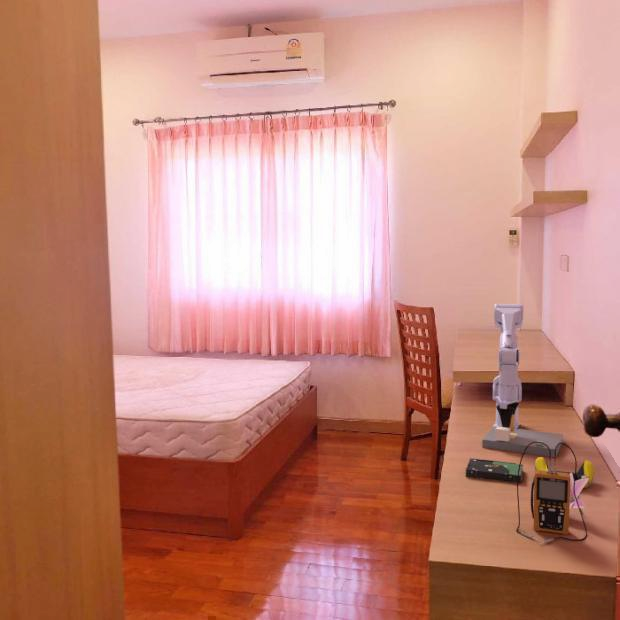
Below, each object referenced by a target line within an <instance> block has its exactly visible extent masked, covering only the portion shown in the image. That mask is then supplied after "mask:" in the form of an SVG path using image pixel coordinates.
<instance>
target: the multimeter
mask: <svg viewBox="0 0 620 620" xmlns="http://www.w3.org/2000/svg"><path fill="white" fill-rule="evenodd" d="M532 443H542V442H532ZM532 443H530V444H529V445H531V444H532ZM542 444H544V443H542ZM559 444H562V445H563V446H566V447H567V448H568V449H569V451H571V453H572V454H573V458H574V462H575V465H574V466H575V468H574V473H575V477H574V488H573V491H574V496H575V499H576V495H575V478H576V473H577V464H578V463H577V457H576V455H575V452H574V451H573V449H572V448H571V447H570V446H569V445H567V444H566V443H564V442H563V443H559ZM559 444H557V446H558V445H559ZM529 445H528V446H529ZM544 445H545V446H547V445H546V444H544ZM528 446H527V447H526V448H525V450H524V452H523V453H522V455H521V457H520V460H519V463H518V464H519V469H518V476H517V483H516V491H517V492H516V493H517V512H518V515H517V516H518V526H517V528H516V531H515V532H517V533H520V534H521V535H522V536H525V537H527V538H529V539H533V540H536V541H539V542H540V540H539V539H538V538H536V537H533V536H532V535H530V534H527V533H525V532H522V531H519V528H520V526H521V520H520V517H521V515H520V499H519V483H518V478H519V470H520V465H521V464H522V461H523V458H524V455H525V454H526V453H525V451H526V449H527V448H528ZM557 446H556V448H555V457H554V461H553V470H552V460H551V459H552V457H551V451H550V449H549V447H548V446H547V448H548V449H549V452H550V456H548V457H549V460H548V471H541V470H535V469H534V477H533V480H532V482H531V490H530V511H531V517H532V519H533V529H534V531H536V532H540V531H541V532H548V533H555V534H560V535H565V536H566V535H568V534H569V533H570V532H569V528H570V525H569V524H570V510H571V508H570V475H569V474H568V473H560V472H556V471H557V460H556V459H557V456H556V449H557ZM551 470H552V471H553V472H551ZM576 502H577V505H578V508H577V509H578V510H579V515H580V516H581V519H582V523H583V527H584V530H585V535H584V537H582V538H581V539H575V538H574V539H571V538H568V537H567V538H566V537H563V536H557V537H553V538H549V539H547V540H544V541H543V542H540V543H538V545H543V544H547V543H550V542H553V541H555V540H557V539H564V540H566V541H567V540H568V541H577V542H578V541H579V542H580V541H583V540H585V539H586V538H587V536H588V530H587V527H586V523H585V520H584V517H583V514H582V513H581V510H582V509H581V510H580V507H579V504H578V501H577V499H576ZM569 509H570V510H569Z"/></svg>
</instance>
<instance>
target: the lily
mask: <svg viewBox="0 0 620 620" xmlns="http://www.w3.org/2000/svg"><path fill="white" fill-rule="evenodd" d="M569 475H570V509H569V511H570V510H571V508H574V509H579V508H578V505H577V502H576V499H577V501H578V504H579V507H580V510H581V513H582V515H584V512H583V510H582V509H584V508H586V505H585V503H584V501H583V499H582V498H581V496H580V493H581V491H582V490H583V489H584V488H583V487H584V486H585V484H586V483H587V482H588V480H589V478H583V479H579V480H577V481H575V495H576V499H575V496H574V491H573V488H574V479H573V475H572V473H570V474H569Z"/></svg>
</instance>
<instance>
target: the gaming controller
mask: <svg viewBox="0 0 620 620" xmlns="http://www.w3.org/2000/svg"><path fill="white" fill-rule="evenodd" d="M548 466H549V464H548V463H547V462H546V459H545V458H544V456H543V457H542V456H540V457H539V456H538V457H537V458H536V459H535V462H534V471H535V470H541V471H548ZM551 472H553V470H552V469H551ZM556 472H560V473H568V474H570V473H572V475H573V479H574V477H575V472H573V471H561V470H559V471H558V470H556ZM594 477H595V467H594V465H593V463H592V462H591V461H589V460H584V461H583V463H582V464H581V466H580V467H579V469H578V470H577V471H576V478H575V481H577V480H579V479H583V478H589V480H588V482H587V483H586V484H585V486H584V487H583V488H582V489H586V488H589V487H590V486H591V485H592V483H594V482H593V481H594Z"/></svg>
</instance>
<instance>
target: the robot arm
mask: <svg viewBox="0 0 620 620" xmlns="http://www.w3.org/2000/svg"><path fill="white" fill-rule="evenodd" d="M493 308H494V310H493V311H494V312H493V321H494V326H495V327H496V328H498V329H499V331H500V336H499V349H497V350H498V351H497V352H498V353H497V356H498V357H497V358H498V359H497V363H498V372H499V373H498V375H497V376H496V377H494V379H493V381H492V382H493V383H492V400H493V401H495V423H494V424H493V425H492V428H493V427H494V426H500V427H501V423H502V427H506V428H509V427H510V423H511V417H512V414H513V415H514V428H516V429H519V427H520V426H521V422H519V419H518V417H519V403H520V402H521V401H522V397H523V396H522V395H523V394H522V393H523V391H522V389H523V387H522V380H521V379H520V378H519V376H518V373H519V370H518V369H519V365H520V348H519V342H518V341H519V338H518V335H517V334H516V331H517V329H520V328H522V325H523V320H524V305H523V304H522V303H495V304H494V307H493Z"/></svg>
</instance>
